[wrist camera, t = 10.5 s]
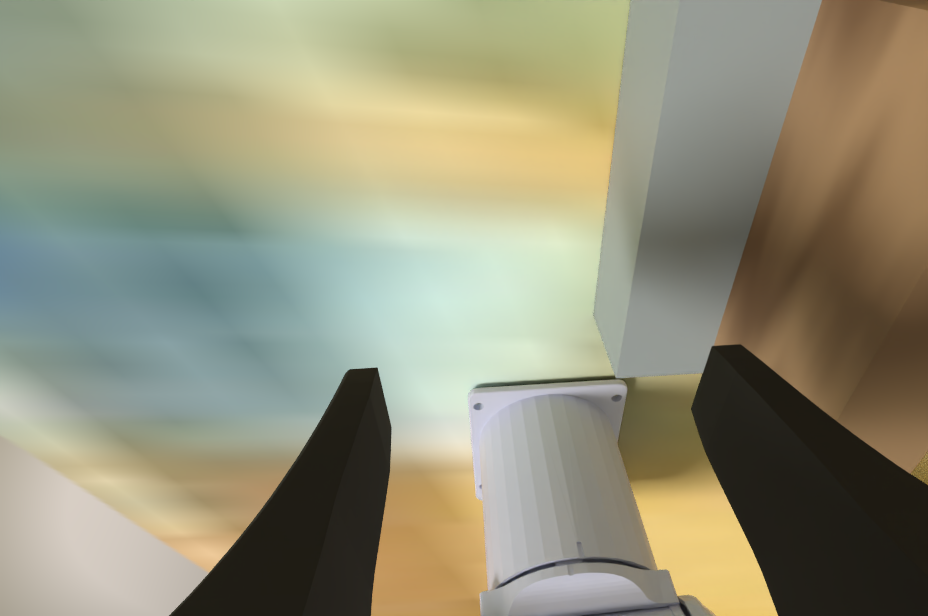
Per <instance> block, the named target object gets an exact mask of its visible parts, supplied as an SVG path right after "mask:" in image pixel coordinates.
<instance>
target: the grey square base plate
mask: <svg viewBox="0 0 928 616" xmlns="http://www.w3.org/2000/svg"><path fill="white" fill-rule="evenodd" d="M821 2H822V0H631V1H630V10H629V18H628V27H627V35H626V44H625V52H624V61H623V69H622V78H621V86H620V94H619V103H618V111H617V120H616V128H615V137H614V145H613V154H612V162H611V171H610V179H609V188H608V196H607V205H606V213H605V222H604V230H603V239H602V247H601V255H600V264H599V272H598V281H597V289H596V298H595V306H594V315H593V316H594V319H595V321H596V324H597V327H598V330H599V332H600V335H601V338H602V341H603V344H604V346H605V349H606V352H607V355H608V357H609V360H610V363H611V366H612V368H613V371H614V374H615V377H616V378H631V377H647V376H663V375H680V374H696V373H703V371H704V368H705V365H706V362H707V359H708V356H709V353H710V350H711V347H712V346H714V343H715V340H716V337H717V333H718V330H719V327H720V324H721V321H722V317H723V314H724V311H725V308H726V305H727V302H728V298H729V295H730V292H731V289H732V286H733V282H734V279H735V276H736V273H737V270H738V266H739V263H740V260H741V257H742V254H743V251H744V247H745V244H746V241H747V238H748V235H749V231H750V228H751V225H752V222H753V219H754V215H755V212H756V209H757V206H758V203H759V200H760V196H761V193H762V190H763V187H764V184H765V180H766V177H767V174H768V171H769V168H770V164H771V161H772V158H773V155H774V152H775V149H776V145H777V142H778V139H779V136H780V133H781V129H782V126H783V123H784V120H785V117H786V113H787V110H788V107H789V104H790V101H791V98H792V94H793V91H794V88H795V85H796V82H797V78H798V75H799V72H800V69H801V66H802V62H803V59H804V56H805V53H806V50H807V47H808V43H809V40H810V37H811V34H812V31H813V27H814V24H815V21H816V18H817V15H818V11H819V8H820V5H821Z"/></svg>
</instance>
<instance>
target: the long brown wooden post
mask: <svg viewBox="0 0 928 616" xmlns="http://www.w3.org/2000/svg"><path fill="white" fill-rule="evenodd" d="M735 344H741V345H742V346H744V347H745V348H746V349H747V350H749V351H750V352H751V353H753V354H754V355H755V356H756V357H758V358H759V359H760V360H761V361H762V362H764V363H765V364H766V365H767V366H769V367H770V368H771V369H772V370H773V371H775V372H776V373H777V374H778V375H780V376H781V377H782V378H783V379H784V380H786V381H787V382H788V383H789V384H791V385H792V386H793V387H794V388H795V389H797V390H798V391H799V392H800V393H802V394H803V395H804V396H805V397H807V398H808V399H809V400H810V401H812V402H813V403H814V404H815V405H817V406H818V407H819V408H820V409H822V410H823V411H824V412H826V413H827V414H828V415H829V416H831V417H832V418H833V419H835V420H836V421H837V422H838V423H840V424H841V425H842V426H844V427H845V428H846V429H848V430H849V431H850V432H852V433H853V434H854V435H856V436H857V437H858V438H860V439H861V440H863V441H864V442H865V443H867V444H868V445H870V446H871V447H872V448H874V449H875V450H877V451H878V452H879V453H881V454H882V455H884V456H885V457H886V458H888V459H889V460H891V461H892V462H893V463H895V464H896V465H898V466H899V467H901V468H902V469H904V470H905V471H907V472H908V473H910V474H911V472H912V471H913V470H914V469H915V467H916V466H917V465H918V463H919V462H920V461H921V460H922V458H923V457H924V456H925V454H926V453H927V452H928V0H822V2H821V5H820V8H819V11H818V15H817V18H816V21H815V24H814V27H813V31H812V34H811V37H810V40H809V43H808V47H807V50H806V53H805V56H804V59H803V62H802V66H801V69H800V72H799V75H798V78H797V82H796V85H795V88H794V91H793V94H792V98H791V101H790V104H789V107H788V110H787V113H786V117H785V120H784V123H783V126H782V129H781V133H780V136H779V139H778V142H777V145H776V149H775V152H774V155H773V158H772V161H771V164H770V168H769V171H768V174H767V177H766V180H765V184H764V187H763V190H762V193H761V196H760V200H759V203H758V206H757V209H756V212H755V215H754V219H753V222H752V225H751V228H750V231H749V235H748V238H747V241H746V244H745V247H744V251H743V254H742V257H741V260H740V263H739V266H738V270H737V273H736V276H735V279H734V282H733V286H732V289H731V292H730V295H729V298H728V302H727V305H726V308H725V311H724V314H723V317H722V321H721V324H720V327H719V330H718V333H717V337H716V340H715V343H714V346H719V345H735Z"/></svg>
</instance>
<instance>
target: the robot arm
mask: <svg viewBox="0 0 928 616" xmlns="http://www.w3.org/2000/svg"><path fill="white" fill-rule="evenodd" d="M627 391H628V389H627V385H626V383H625V382H624V381H623V380H619V379H615V380H599V381H582V382H566V383H550V384H534V385H517V386H501V387H485V388H475V389H472V390H470V392H469V393H468V404H469V416H470V429H471V441H472V453H473V466H474V478H475V490H476V497H477V498H478V499H479V500H483V516H484V532H485V549H486V565H487V581H488V591H484V592H481V593H480V610H481V616H716V615H715V614H714V613H713V612H712V611H710V610H709V609H708V608H706V607H705V606H704V605H702V603H701V602H700V601H699V600H698V599H697V598H696V597H694V596H692V595H682V596H677V594H676V591H675V588H674V585H673V582H672V579H671V576H670V573H669V571H668V570H658V569H657V566H656V563H655V560H654V557H653V554H652V550H651V547H650V544H649V541H648V538H647V535H646V532H645V529H644V525H643V522H642V519H641V516H640V513H639V510H638V507H637V504H636V500H635V497H634V494H633V491H632V488H631V485H630V482H629V479H628V475H627V472H626V469H625V466H624V463H623V460H622V457H621V454H620V450H619V447H618V444H617V443H618V438H619V432H620V427H621V422H622V417H623V412H624V406H625V401H626V396H627ZM614 395H616V396H614ZM477 403H481V404H477ZM691 410H692V413H693V416H694V420H695V423H696V426H697V429H698V432H699V435H700V438H701V441H702V444H703V447H704V450H705V452H706V455H707V457H708V459H709V461H710V463H711V465H712V467H713V470H714V472H715V474H716V476H717V478H718V480H719V482H720V484H721V486H722V488H723V490H724V492H725V495H726V497H727V499H728V501H729V503H730V505H731V507H732V509H733V511H734V513H735V515H736V517H737V519H738V521H739V523H740V525H741V527H742V529H743V532H744V534H745V536H746V538H747V540H748V542H749V544H750V546H751V548H752V550H753V552H754V555H755V557H756V559H757V561H758V564H759V566H760V568H761V571H762V573H763V576H764V578H765V581H766V584H767V587H768V589H769V592H770V595H771V597H772V600H773V603H774V605H775V608H776V611H777V613H778V616H928V485H927V484H925V483H924V482H922V481H920V480H919V479H917V478H916V477H914V476H913V475H911V474H910V473H908V472H907V471H905V470H904V469H902V468H901V467H899V466H898V465H896V464H895V463H893V462H892V461H891V460H889V459H888V458H886V457H885V456H884V455H882V454H881V453H879V452H878V451H877V450H875V449H874V448H872V447H871V446H870V445H868V444H867V443H865V442H864V441H863V440H861V439H860V438H858V437H857V436H856V435H854V434H853V433H852V432H850V431H849V430H848V429H846V428H845V427H844V426H842V425H841V424H840V423H838V422H837V421H836V420H835V419H833V418H832V417H831V416H829V415H828V414H827V413H826V412H824V411H823V410H822V409H820V408H819V407H818V406H817V405H815V404H814V403H813V402H812V401H810V400H809V399H808V398H807V397H805V396H804V395H803V394H802V393H800V392H799V391H798V390H797V389H795V388H794V387H793V386H792V385H791V384H789V383H788V382H787V381H786V380H784V379H783V378H782V377H781V376H780V375H778V374H777V373H776V372H775V371H773V370H772V369H771V368H770V367H769V366H767V365H766V364H765V363H764V362H762V361H761V360H760V359H759V358H758V357H756V356H755V355H754V354H753V353H751V352H750V351H749V350H747V349H746V348H745V347H744V346H742V345H741V344H735V345H719V346H712V347H711V350H710V353H709V356H708V359H707V362H706V365H705V368H704V371H703V374H702V377H701V380H700V383H699V386H698V389H697V392H696V395H695V398H694V401H693V404H692V408H691ZM390 455H391V424H390V419H389V415H388V411H387V407H386V402H385V398H384V394H383V389H382V385H381V381H380V377H379V372H378V368H365V369H350V370H348V371H347V372H346V373H345V375H344V377H343V379H342V381H341V383H340V385H339V387H338V389H337V391H336V393H335V395H334V397H333V399H332V400H331V402H330V404H329V406H328V408H327V409H326V411H325V413H324V415H323V416H322V418H321V420H320V422H319V423H318V425H317V427H316V428H315V430H314V432H313V433H312V435H311V437H310V438H309V440H308V442H307V443H306V445H305V446H304V448H303V450H302V451H301V453H300V454H299V456H298V458H297V459H296V461H295V462H294V464H293V465H292V467H291V468H290V469H289V471H288V472H287V474H286V475H285V477H284V478H283V480H282V481H281V483H280V484H279V486H278V487H277V488H276V490H275V491H274V493H273V494H272V496H271V497H270V498H269V500H268V501H267V502H266V504H265V505H264V506H263V508H262V509H261V511H260V512H259V513H258V514H257V516H256V517H255V518H254V520H253V521H252V522H251V523H250V525H249V526H248V527H247V529H246V530H245V531H244V532H243V534H242V535H241V536H240V537H239V539H238V540H237V541H236V542H235V543H234V545H233V546H232V547H231V548H230V549H229V550H228V552H227V553H226V554H225V555H224V556H223V557H222V559H221V560H220V561H219V562H218V563H217V564H216V566H215V567H214V568H213V569H212V570H211V571H210V573H209V574H208V575H207V576H206V577H205V579H203V581H202V582H201V583H200V584H199V585H198V586H197V587H196V588H195V589H194V590H193V592H192V593H191V594H190V595H189V596H188V597H187V598H186V599H185V600H184V601H183V602H182V603H181V604H180V605H179V606H178V607H177V608H176V609H175V610H174V611H173V612H172V613H171V615H169V616H371V603H372V591H373V582H374V573H375V566H376V560H377V553H378V547H379V540H380V534H381V527H382V521H383V514H384V508H385V501H386V494H387V487H388V480H389V473H390Z"/></svg>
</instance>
